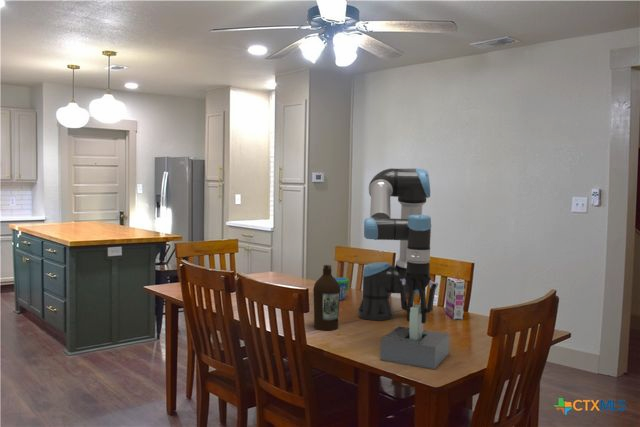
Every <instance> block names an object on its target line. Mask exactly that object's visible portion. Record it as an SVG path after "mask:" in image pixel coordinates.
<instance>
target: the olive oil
mask: <svg viewBox="0 0 640 427" xmlns="http://www.w3.org/2000/svg"><path fill="white" fill-rule="evenodd" d="M322 266H323V268H322V275H321V276H320V277H319V278H318V279H317V280H316V282H315V283H314V286H313V288H312V291H313V312H314V313H313V323H314V324H313V328H314V329H315V330H318V331H324V332H325V331H330V332H331V331H335V330H337V329H338V328H339V313H340V312H339V309H340V301H341V300H340V286H339V283H338V282H337V281H336V280H335V278H334V276H333V274H332V264H323V265H322Z"/></svg>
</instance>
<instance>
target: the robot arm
mask: <svg viewBox="0 0 640 427" xmlns="http://www.w3.org/2000/svg"><path fill="white" fill-rule="evenodd" d="M368 184H369V185H368V195H369V196H370V207H369V208H370V210H369V217H366V218H364V223H363V237H364V238H365V239H367V240H374V241H377V240H378V241H379V240H381V241H399V258H398V259H397V260H396V262H395V265H392V264H391V262H389V261H386V262H385V261H378V262H371V263H367V264H366V265H364V267H363V272H362V297H361V298H362V299H361V302H360V305H359V306H358V307H359V308H358V311H357V316H358V317H359V318H360V319H364V320H367V321H368V320H370V321H386V320H387V321H388V320H391V319H393V318H394V311H393V307H392V304H391V301H390V294H400V304H401V305H400V307H401V309H402V310H404V311H406V321H407V322H409V323H408V325H409V326H408V328H409V332H410V308H411V307H413V306H414V300H415V295H419V301H420V305H421V313H420V314H419V333H420V334H421V333H422V332H423V330H424V324H426V323H427V314H429V313H431V312H433V308H434V301H435V300H434V299H435V293H436V290H437V288H438V287H439V286H438V285H439V284H438V283H437V282H435V281H432V279H431V276H430V269H431V268H430V267H431V266H430V265H431V264H430V261H431V237H432V236H431V235H432V230H431V228H432V218H431V216H430V215H425V214H423V206H424V205H425V203H427V199H429V198H430V197H431V184H430V176H429V173H428V171H427V169H424V168H423V169H421V168H392V167H391V168H387V169H384V170H382V171H380V172H379V171H378V173H377V174H375V175H374V176H373V177H372V179H371V180H370V182H369V183H368ZM393 197H394V198H395V197H396V198H397V201H398V203H399V204H400V206H401V207H400V208H401V210H400V214H401V215H400V218H391V214H392V213H391V198H393ZM428 285H429V293H428V300H427V297H426V296H427V295H426V288H427V286H428ZM407 295H408V297H407ZM407 298H408V299H407Z"/></svg>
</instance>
